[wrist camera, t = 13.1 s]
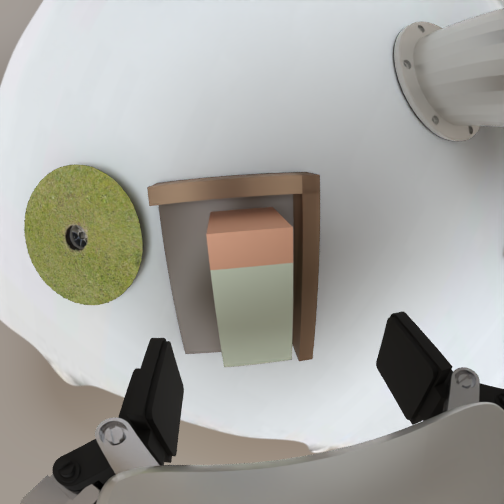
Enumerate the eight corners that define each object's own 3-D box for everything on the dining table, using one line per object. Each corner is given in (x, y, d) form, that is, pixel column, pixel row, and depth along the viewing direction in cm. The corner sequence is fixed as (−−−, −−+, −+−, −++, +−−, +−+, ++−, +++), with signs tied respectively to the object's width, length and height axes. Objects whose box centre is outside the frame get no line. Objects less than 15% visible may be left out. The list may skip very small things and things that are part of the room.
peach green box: (275, 313, 23) (291, 359, 18) (222, 319, 23) (224, 367, 17) (272, 206, 20) (292, 227, 15) (210, 211, 20) (206, 234, 14)
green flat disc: (175, 209, 20) (170, 214, 18) (116, 316, 22) (110, 328, 21) (64, 139, 17) (52, 139, 15) (24, 252, 19) (12, 259, 17)
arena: (306, 172, 20) (319, 174, 17) (303, 338, 25) (312, 358, 22) (157, 183, 19) (147, 187, 16) (185, 350, 24) (183, 372, 21)
